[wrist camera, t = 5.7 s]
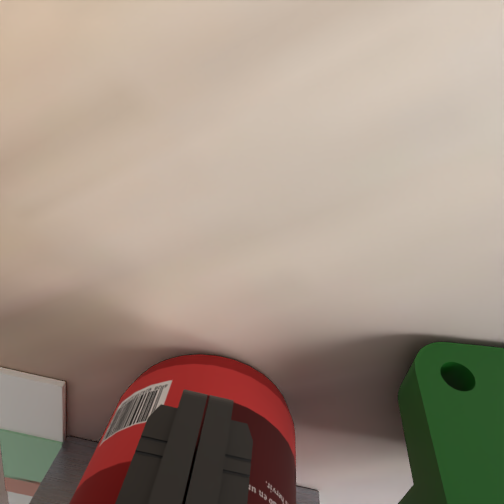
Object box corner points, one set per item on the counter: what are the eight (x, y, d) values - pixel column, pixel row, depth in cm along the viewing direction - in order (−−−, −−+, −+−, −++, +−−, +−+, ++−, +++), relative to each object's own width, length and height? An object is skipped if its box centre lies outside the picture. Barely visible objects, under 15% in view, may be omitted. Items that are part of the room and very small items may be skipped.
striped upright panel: (65, 381, 18) (60, 388, 17) (65, 521, 23) (62, 528, 22) (-2, 366, 17) (-9, 373, 17) (13, 510, 22) (9, 517, 22)
